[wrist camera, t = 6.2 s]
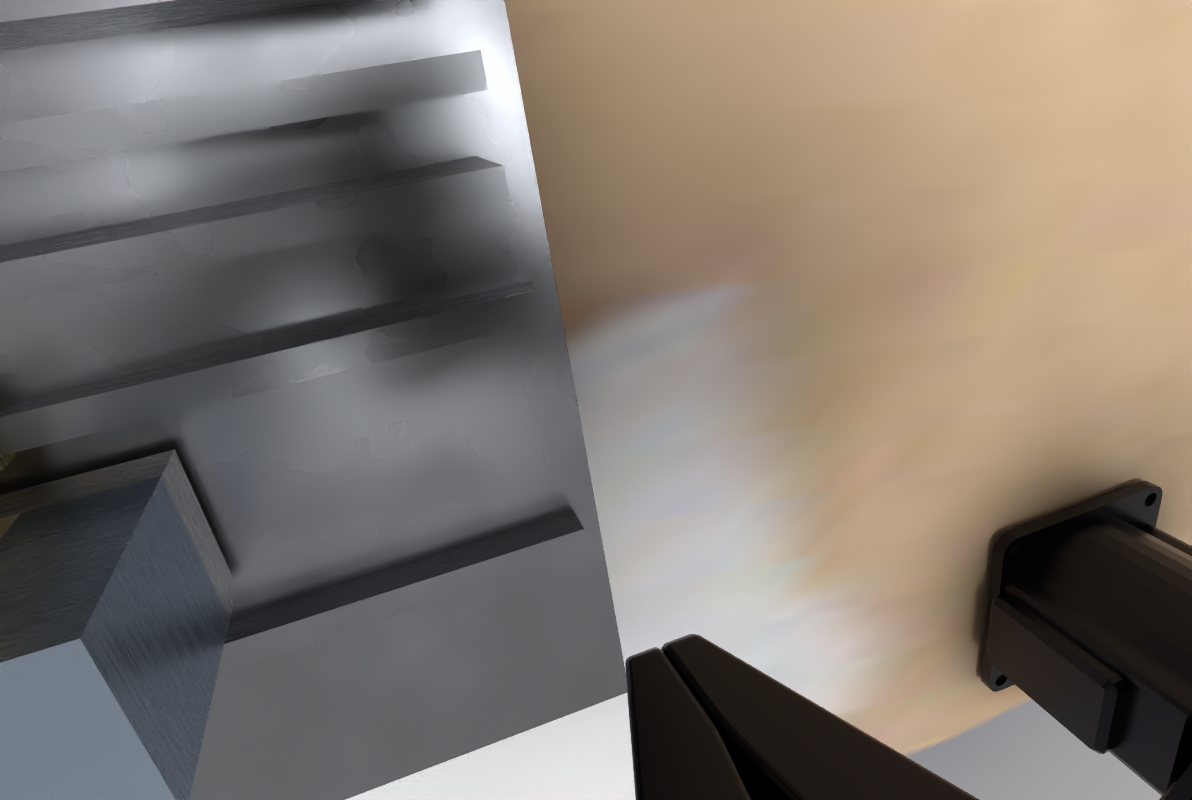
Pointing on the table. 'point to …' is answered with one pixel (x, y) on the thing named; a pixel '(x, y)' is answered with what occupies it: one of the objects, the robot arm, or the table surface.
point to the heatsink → (312, 360)
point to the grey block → (108, 634)
